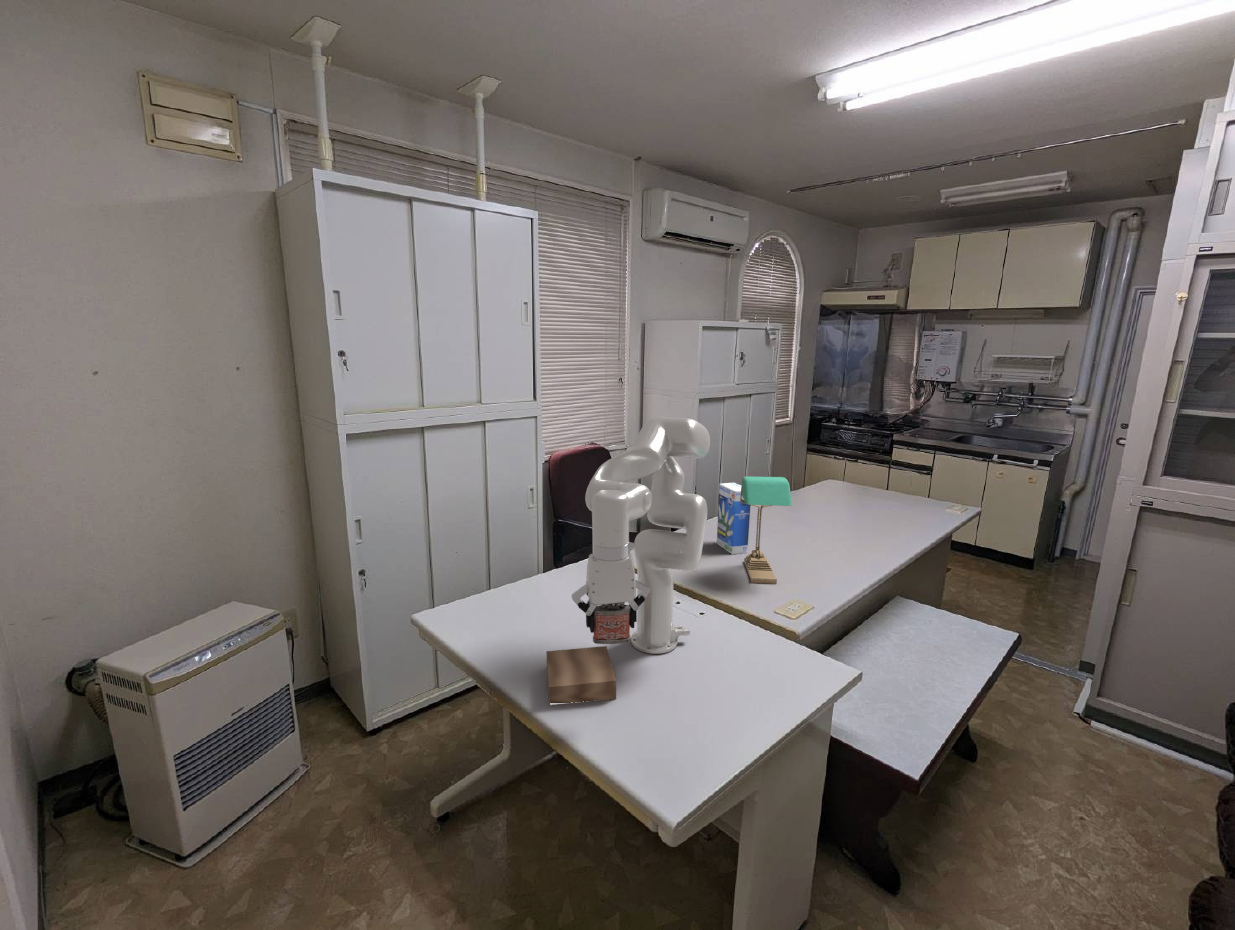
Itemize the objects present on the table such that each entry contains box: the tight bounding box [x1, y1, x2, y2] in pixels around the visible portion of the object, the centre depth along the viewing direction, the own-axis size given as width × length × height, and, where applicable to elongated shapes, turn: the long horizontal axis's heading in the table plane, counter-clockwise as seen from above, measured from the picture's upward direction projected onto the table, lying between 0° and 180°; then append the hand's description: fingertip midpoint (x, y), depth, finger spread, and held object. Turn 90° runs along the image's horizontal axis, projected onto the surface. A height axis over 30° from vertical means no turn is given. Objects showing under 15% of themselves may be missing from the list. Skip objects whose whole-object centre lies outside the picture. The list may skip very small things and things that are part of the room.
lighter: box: [592, 602, 631, 645], centre depth 115 cm, size 8×3×10 cm, turn 94°
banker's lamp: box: [740, 475, 793, 585], centre depth 191 cm, size 16×21×35 cm
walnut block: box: [545, 645, 617, 704], centre depth 128 cm, size 15×15×5 cm
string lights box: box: [716, 482, 751, 555], centre depth 217 cm, size 13×8×26 cm, turn 17°
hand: (611, 626), depth 116 cm, fingers closed on lighter, 8 cm apart
